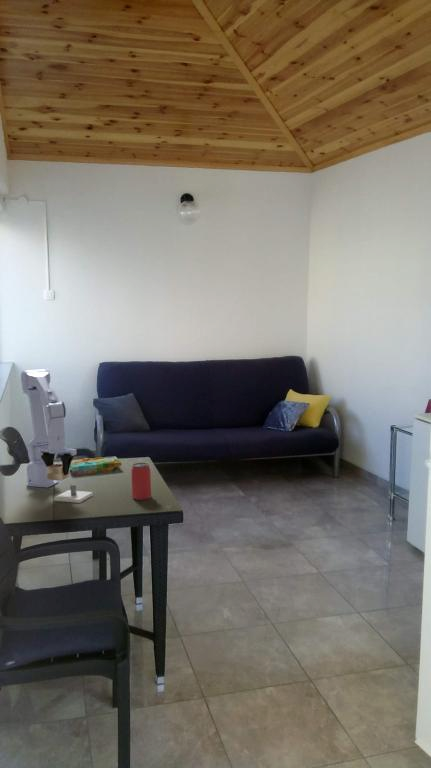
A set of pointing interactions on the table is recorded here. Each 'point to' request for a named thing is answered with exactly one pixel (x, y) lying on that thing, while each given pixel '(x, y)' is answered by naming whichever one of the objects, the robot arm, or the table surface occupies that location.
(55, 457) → the robot arm
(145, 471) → the beer can
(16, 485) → the table surface
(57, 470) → the collar
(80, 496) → the pin block
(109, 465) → the puzzle game
